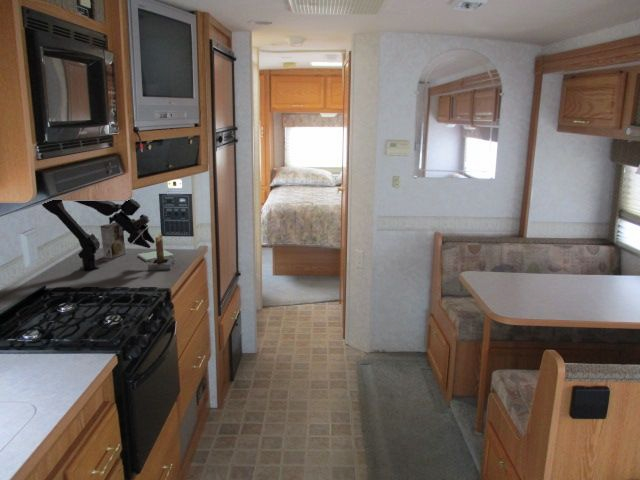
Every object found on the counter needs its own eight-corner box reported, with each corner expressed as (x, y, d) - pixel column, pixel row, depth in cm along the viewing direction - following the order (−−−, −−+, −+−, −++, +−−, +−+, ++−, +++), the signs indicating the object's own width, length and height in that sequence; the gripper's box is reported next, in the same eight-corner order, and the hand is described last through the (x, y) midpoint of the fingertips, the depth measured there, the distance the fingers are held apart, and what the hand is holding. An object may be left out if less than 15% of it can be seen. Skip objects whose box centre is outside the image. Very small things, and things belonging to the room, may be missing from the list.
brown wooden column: (153, 268, 251) (151, 238, 247) (157, 264, 259) (154, 234, 255) (165, 268, 251) (162, 237, 248) (168, 263, 259) (165, 233, 256)
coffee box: (116, 252, 279) (113, 222, 275) (126, 253, 276) (123, 223, 272) (103, 256, 271) (99, 225, 267) (112, 258, 268) (109, 226, 264)
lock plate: (148, 270, 249) (147, 265, 248) (153, 262, 260) (153, 257, 260) (170, 269, 250) (170, 264, 249) (174, 262, 261) (174, 257, 261)
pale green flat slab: (146, 261, 262) (146, 259, 262) (137, 256, 271) (137, 254, 271) (173, 256, 271) (173, 254, 270) (164, 251, 280) (164, 249, 279)
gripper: (132, 214, 238) (159, 237, 242) (141, 206, 256) (167, 228, 260) (115, 232, 240) (143, 255, 243) (126, 223, 258) (152, 244, 261)
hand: (152, 245), depth 252 cm, fingers open, 9 cm apart
